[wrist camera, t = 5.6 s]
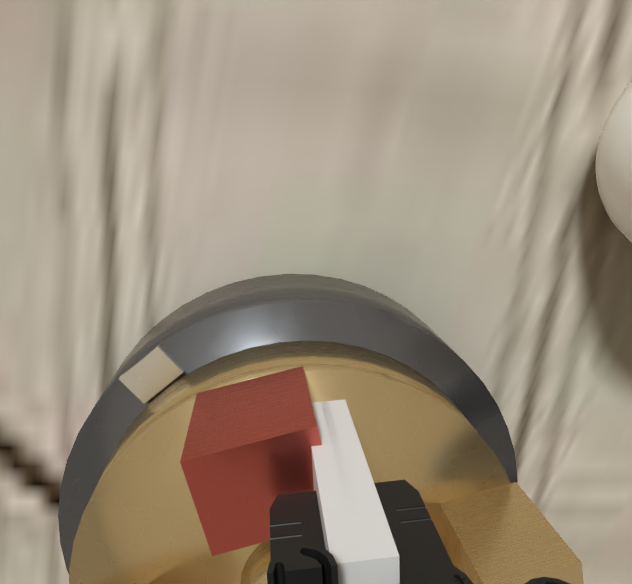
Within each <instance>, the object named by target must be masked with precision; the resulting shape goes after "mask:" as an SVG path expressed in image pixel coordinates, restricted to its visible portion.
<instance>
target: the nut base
mask: <svg viewBox="0 0 632 584" xmlns="http://www.w3.org/2000/svg"><path fill="white" fill-rule="evenodd" d="M306 340H309V341H325V342H337V343H343V344H348V345H353V346H358V347H363V348H366V349H369V350H372V351H375V352H378V353H381V354H384V355H387V356H389V357H391V358H393V359H395V360H397V361H400V362H402V363H404V364H406V365H408V366H410V367H411V368H413V369H414V370H416V371H417V372H419V373H420V374H422V375H423V376H425V377H426V378H428V379H429V380H431V381H432V382H433V383H434V384H435V385H436V386H437V387H438V388H439V389H441V390H442V391H443V392H444V393H445V394H446V395H447V396H448V397H449V398H450V399H451V400H452V402H453V403H454V404H455V405H456V407H457V408H458V409H459V410H460V411H461V413H462V414H463V415H464V416H465V418H466V419H467V420H468V421H469V422H470V424H471V425H472V426H473V427H474V429H475V430H476V431H477V432H478V433H479V435H480V436H481V437H482V438H483V440H484V441H485V442H486V443H487V444H488V446H489V447H490V448H491V449H492V451H493V452H494V453H495V455H496V456H497V458H498V460H499V461H500V463H501V465H502V467H503V468H504V470H505V472H506V473H507V475H508V478H509V480H510V483H514V482H516V483H517V470H516V461H515V453H514V449H513V445H512V442H511V438H510V435H509V431H508V428H507V425H506V423H505V421H504V419H503V416H502V414H501V412H500V410H499V407H498V405H497V403H496V402H495V400H494V399H493V397H492V396H491V394H490V393H489V391H488V390H487V388H486V386H485V385H484V383H483V382H482V381H481V380H480V379H479V377H478V376H477V375H476V374H475V373H474V372H473V371H472V369H471V368H470V367H469V366H468V365H467V364H466V363H465V362H464V361H463V360H462V359H461V358H460V357H459V356H458V355H457V354H456V353H455V352H454V351H453V350H452V349H451V348H450V347H449V346H448V345H447V344H446V343H445V342H444V341H443V340H441V339H440V338H439V337H438V336H437V335H436V334H435V333H434V332H433V331H432V330H431V329H430V328H429V327H428V326H427V325H426V324H425V323H423V322H422V321H421V320H420V319H419V318H418V317H416V316H415V315H414V314H413V313H412V312H410V311H409V310H408V309H406V308H405V307H403V306H402V305H400V304H398V303H397V302H395V301H394V300H392V299H390V298H389V297H387V296H385V295H383V294H381V293H378V292H376V291H374V290H372V289H369V288H367V287H365V286H362V285H359V284H355V283H352V282H348V281H345V280H342V279H337V278H331V277H324V276H318V275H303V274H282V275H272V276H263V277H257V278H252V279H248V280H244V281H239V282H235V283H232V284H229V285H226V286H223V287H221V288H218V289H215V290H213V291H210V292H207V293H205V294H203V295H202V296H200V297H198V298H196V299H194V300H192V301H190V302H188V303H186V304H184V305H183V306H181V307H180V308H178V309H177V310H176V311H174V312H173V313H171V314H170V315H169V316H167V317H166V318H164V319H163V320H161V321H160V322H159V323H158V324H157V325H156V326H155V327H154V328H153V329H152V330H151V331H150V332H148V333H147V334H146V335H145V336H144V337H143V338H142V339H141V340H140V341H139V343H138V344H137V345H136V346H135V348H134V349H133V350H132V351H131V353H130V354H129V355H128V356H127V357H126V359H125V360H124V362H123V363H122V365H121V366H120V368H119V369H118V371H117V373H116V374H115V376H114V377H113V379H112V380H111V382H110V383H109V385H108V386H107V388H106V390H105V391H104V393H103V394H102V396H101V397H100V399H99V400H98V402H97V404H96V405H95V407H94V408H93V410H92V412H91V413H90V415H89V417H88V418H87V420H86V422H85V423H84V425H83V427H82V428H81V430H80V432H79V433H78V436H77V438H76V441H75V443H74V445H73V448H72V450H71V453H70V455H69V458H68V460H67V464H66V468H65V472H64V476H63V480H62V484H61V489H60V501H59V514H58V519H59V531H60V543H61V547H62V551H63V555H64V559H65V564H66V568H67V571H68V573H69V568H70V562H71V555H72V549H73V542H74V539H75V536H76V533H77V530H78V527H79V524H80V521H81V518H82V515H83V513H84V511H85V509H86V507H87V505H88V503H89V500H90V498H91V496H92V494H93V492H94V490H95V488H96V486H97V484H98V482H99V480H100V478H101V476H102V473H103V471H104V469H105V467H106V465H107V463H108V461H109V459H110V457H111V455H112V453H113V451H114V449H115V447H116V445H117V443H118V442H119V440H120V439H121V437H122V436H123V435H124V433H125V432H126V430H127V429H128V427H129V426H130V425H131V423H132V422H133V420H134V419H135V418H136V417H137V416H138V415H139V414H140V413H141V412H142V411H143V410H144V409H145V408H146V407H147V405H148V404H149V403H150V402H151V401H152V400H153V399H155V398H156V397H157V396H158V395H160V394H161V393H162V392H163V391H164V390H166V389H167V388H168V387H169V386H171V385H172V384H173V383H175V382H176V381H178V380H179V379H181V378H183V377H184V376H186V375H187V374H189V373H191V372H192V371H194V370H195V369H197V368H199V367H201V366H203V365H206V364H208V363H210V362H212V361H214V360H216V359H219V358H221V357H223V356H226V355H229V354H232V353H235V352H238V351H242V350H245V349H248V348H251V347H256V346H262V345H267V344H272V343H278V342H290V341H306Z"/></svg>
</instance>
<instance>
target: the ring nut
mask: <svg viewBox="0 0 632 584" xmlns="http://www.w3.org/2000/svg"><path fill="white" fill-rule="evenodd" d="M344 399H345V400H346V403H347V406H348V409H349V412H350V415H351V418H352V421H353V424H354V426H355V429H356V432H357V435H358V438H359V441H360V444H361V447H362V450H363V452H364V455H365V458H366V461H367V464H368V467H369V470H370V473H371V476H372V478H373V481H374V483H377V482H387V481H396V480H406V481H407V482H408V483H409V484H411V485H412V486H413V487H414V488H415V489H416V490H418V491H419V493H420V495H421V498H422V500H423V502H424V504H425V508H427V510H428V512H429V515H430V517H431V520H432V521H433V523H434V525H435V527H436V529H437V532H438V534H439V536H440V538H441V540H442V542H443V544H444V546H445V548H446V551H447V553H448V555H449V557H450V559H451V561H452V563H453V565H454V566H455V567H456V568H458V569H459V570H461V571H462V572H464V573H465V574H466V575H467V576H468V578H469V579H470V580H471V581H472V583H473V584H525V583H526V582H528V581H529V580H531V579H534V578H540V577H550V578H557V579H560V580H563V581H565V582H568V583H570V584H583V574H582V563H581V561H580V560H579V559H578V558H577V556H576V555H575V554H574V553H573V551H572V550H571V549H570V548H569V547H568V545H567V544H566V543H565V542H564V540H563V539H562V538H561V537H560V535H559V534H558V533H557V532H556V531H555V529H554V528H553V527H552V526H551V524H550V523H549V522H548V521H547V519H546V518H545V517H544V516H543V515H542V513H541V512H540V511H539V510H538V508H537V507H536V506H535V505H534V503H533V502H532V501H531V500H530V499H529V497H528V496H527V495H526V494H525V492H524V491H523V490H522V489H521V488H520V486H519V485H518V484H517V483H516V482H514V483H510V480H509V478H508V475H507V473H506V472H505V470H504V468H503V467H502V465H501V463H500V461H499V460H498V458H497V456H496V455H495V453H494V452H493V451H492V449H491V448H490V447H489V446H488V444H487V443H486V442H485V441H484V440H483V438H482V437H481V436H480V435H479V433H478V432H477V431H476V430H475V429H474V427H473V426H472V425H471V424H470V422H469V421H468V420H467V419H466V418H465V416H464V415H463V414H462V413H461V411H460V410H459V409H458V408H457V407H456V405H455V404H454V403H453V402H452V400H451V399H450V398H449V397H448V396H447V395H446V394H445V393H444V392H443V391H442V390H441V389H439V388H438V387H437V386H436V385H435V384H434V383H433V382H432V381H431V380H429V379H428V378H426V377H425V376H423V375H422V374H420V373H419V372H417V371H416V370H414V369H413V368H411V367H410V366H408V365H406V364H404V363H402V362H400V361H397V360H395V359H393V358H391V357H389V356H387V355H384V354H381V353H378V352H375V351H372V350H369V349H366V348H363V347H358V346H353V345H348V344H343V343H337V342H325V341H309V340H306V341H290V342H278V343H272V344H267V345H262V346H256V347H251V348H248V349H245V350H242V351H238V352H235V353H232V354H229V355H226V356H223V357H221V358H219V359H216V360H214V361H212V362H210V363H208V364H206V365H203V366H201V367H199V368H197V369H195V370H194V371H192V372H191V373H189V374H187V375H186V376H184V377H183V378H181V379H179V380H178V381H176V382H175V383H173V384H172V385H171V386H169V387H168V388H167V389H166V390H164V391H163V392H162V393H161V394H160V395H158V396H157V397H156V398H155V399H153V400H152V401H151V402H150V403H149V404H148V405H147V407H146V408H145V409H144V410H143V411H142V412H141V413H140V414H139V415H138V416H137V417H136V418H135V419H134V420H133V422H132V423H131V425H130V426H129V427H128V429H127V430H126V432H125V433H124V435H123V436H122V437H121V439H120V440H119V442H118V443H117V445H116V447H115V449H114V451H113V453H112V455H111V457H110V459H109V461H108V463H107V465H106V467H105V469H104V471H103V473H102V476H101V478H100V480H99V482H98V484H97V486H96V488H95V490H94V492H93V494H92V496H91V498H90V500H89V503H88V505H87V507H86V509H85V511H84V513H83V515H82V518H81V521H80V524H79V527H78V530H77V533H76V536H75V539H74V542H73V549H72V555H71V562H70V568H69V584H267V570H268V566H269V562H270V561H271V556H270V507H271V505H272V504H273V502H274V500H275V498H276V496H277V495H279V494H288V493H298V492H307V491H314V484H313V466H312V449H311V446H319V445H322V444H321V439H320V435H319V431H318V427H317V422H316V418H315V414H314V410H313V406H312V402H322V401H333V400H344Z"/></svg>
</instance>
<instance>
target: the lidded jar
mask: <svg viewBox="0 0 632 584" xmlns="http://www.w3.org/2000/svg"><path fill="white" fill-rule="evenodd" d="M595 169H596V181H597V186H598V190H599V194H600V197H601V200H602V202H603V205H604V207H605V209H606V212H607V214H608V215H609V217H610V219H611V220H612V222H613V223H614V225H615V226H616V227H617V228H618V229H619V230H620V231H621V232H622V233H623V234H624V236H625V237H626V238H627V239H628V240H629V241H630V242H631V243H632V81H631V83H630V84H629V85H628V86H627V87H626V88H625V90H624V91H623V92H622V94H621V95H620V97H619V98H618V100H617V101H616V103H615V104H614V106H613V108H612V109H611V111H610V113H609V115H608V117H607V119H606V121H605V124H604V126H603V129H602V132H601V135H600V138H599V143H598V147H597V152H596V166H595Z"/></svg>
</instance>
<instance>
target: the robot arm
mask: <svg viewBox="0 0 632 584" xmlns="http://www.w3.org/2000/svg"><path fill="white" fill-rule="evenodd" d="M312 406H313V410H314V414H315V418H316V422H317V427H318V431H319V435H320V439H321V444H322V445H319V446H311V449H312V466H313V484H314V491H307V492H298V493H288V494H279V495H277V496H276V498H275V500H274V502H273V504H272V505H271V507H270V556H271V561H270V562H269V566H268V570H267V584H473V583H472V581H471V580H470V579H469V578H468V576H467V575H466V574H465V573H464V572H462V571H461V570H459V569H458V568H456V567H455V566H454V565H453V563H452V561H451V559H450V557H449V555H448V553H447V551H446V548H445V546H444V544H443V542H442V540H441V538H440V536H439V534H438V532H437V529H436V527H435V525H434V523H433V521H432V520H431V517H430V515H429V512H428V510H427V508H425V504H424V502H423V500H422V498H421V495H420V493H419V491H418V490H416V489H415V488H414V487H413V486H412V485H411V484H409V483H408V482H407V481H406V480H396V481H387V482H377V483H374V481H373V478H372V476H371V473H370V470H369V467H368V464H367V461H366V458H365V455H364V452H363V450H362V447H361V444H360V441H359V438H358V435H357V432H356V429H355V426H354V424H353V421H352V418H351V415H350V412H349V409H348V406H347V403H346V400H345V399H344V400H333V401H322V402H312ZM525 584H570V583H568V582H565V581H563V580H560V579H557V578H550V577H540V578H534V579H531V580H529V581H528V582H526V583H525Z"/></svg>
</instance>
